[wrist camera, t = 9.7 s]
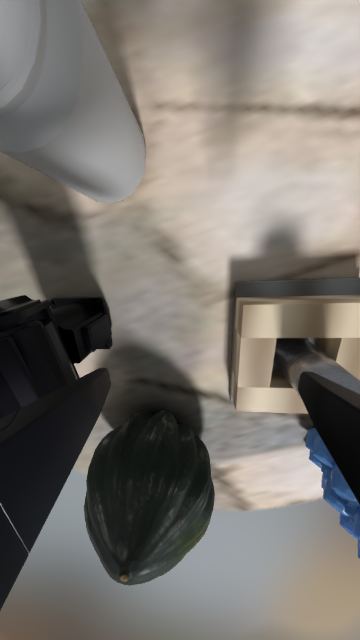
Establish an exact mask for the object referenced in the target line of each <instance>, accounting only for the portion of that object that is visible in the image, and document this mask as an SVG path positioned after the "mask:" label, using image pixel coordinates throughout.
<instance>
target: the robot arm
mask: <svg viewBox="0 0 360 640" xmlns="http://www.w3.org/2000/svg"><path fill="white" fill-rule="evenodd" d="M98 300H100V301H101V303H99V302H98ZM54 301H55V302H56V304H55V303H54ZM50 306H51V309H52V310H51V309H50ZM111 335H112V333H111V327H110V322H109V316H108V315H107V312H106V307H105V301H104V299H103V298H101V297H83V298H54V299H51V300H50V303H49V300H44V301H40V300H32V299H30V298H29V297H27V296H25V295H23V296H18V297H14V298H10V299H5V300H1V301H0V610H1V608H2V606H3V604H4V602H5V600H6V598H7V596H8V594H9V592H10V590H11V589H12V587H13V585H14V583H15V581H16V579H17V577H18V575H19V573H20V571H21V569H22V567H23V565H24V563H25V561H26V559H27V557H28V553H30V551H31V548H32V547H33V545H34V543H35V541H36V539H37V537H38V535H39V533H40V531H41V529H42V527H43V525H44V523H45V521H46V519H47V517H48V515H49V513H50V511H51V510H52V508H53V506H54V504H55V502H56V500H57V498H58V496H59V494H60V492H61V490H62V488H63V486H64V484H65V482H66V480H67V478H68V476H69V474H70V472H71V470H72V468H73V466H74V464H75V462H76V461H77V459H78V457H79V455H80V453H81V451H82V449H83V447H84V445H85V443H86V441H87V439H88V437H89V435H90V433H91V431H92V429H93V427H94V425H95V423H96V421H97V419H98V417H99V415H100V412H101V410H102V407H103V405H104V402H105V400H106V397H107V394H108V392H109V389H110V386H111V381H110V376H109V371H108V369H106V368H99V369H97V370H95V371H93V372H91V373H89V374H87V375H85V376H83V377H81V378H79V375H78V373H77V371H76V368H75V366H74V363H80V362H81V361H82V360H83V359H85V358H86V357H87V356H88V355H89V354H90V353H91V352H94V351H95V350H96V349H110V348H111V347H112V339H111ZM107 344H109V346H108V345H107ZM298 392H299V394H300V397H301V399H302V401H303V403H304V405H305V408H306V410H307V412H308V414H309V416H310V419H311V421H312V423H313V425H314V427H315V428H316V430H317V432H318V434H319V435H320V437H321V439H322V441H323V442H324V444H325V446H326V448H327V449H328V451H329V453H330V454H331V456H332V458H333V460H334V461H335V463H336V465H337V467H338V468H339V470H340V472H341V473H342V475H343V477H344V479H345V480H346V482H347V484H348V486H349V487H350V489H351V491H352V492H353V494H354V496H355V498H356V499H357V501H358V503H359V505H360V394H358V393H356V392H354V391H352V390H350V389H348V388H346V387H344V386H341V385H339V384H337V383H335V382H333V381H331V380H329V379H327V378H325V377H322V376H320V375H318V374H316V373H314V372H306V371H303V372H301V374H300V378H299V383H298Z"/></svg>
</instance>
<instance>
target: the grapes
mask: <svg viewBox="0 0 360 640" xmlns="http://www.w3.org/2000/svg"><path fill="white" fill-rule="evenodd" d="M306 447H307V448H308V449H310V456H309V459H310V460H311V461H312V462H313V463H315V464H316V465H317V466H318V467H320V468H321V471H322V472H323V475H322V488H323V489H324V492H323V498H324V499H325V500H326V501H327V502H328V503H329V504H330V505H331V506H333V507H334V508H335V509H336V510H338V511H339V512H340V524H341V525H342V527H343V528H345V529H346V530H347V531H348V532H349V533H350V534H351V535H353V536H354V537H355V538H356V539H357V540H358V557H359V558H360V505H359V503H358V501H357V499H356V498H355V496H354V494H353V492H352V491H351V489H350V487H349V486H348V484H347V482H346V480H345V479H344V477H343V475H342V473H341V472H340V470H339V468H338V467H337V465H336V463H335V461H334V460H333V458H332V456H331V454H330V453H329V451H328V449H327V448H326V446H325V444H324V442H323V441H322V439H321V437H320V435H319V434H318V432H317V430H316V429H315V428H312V429H310V430H309V432H308V434H307V437H306Z"/></svg>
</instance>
